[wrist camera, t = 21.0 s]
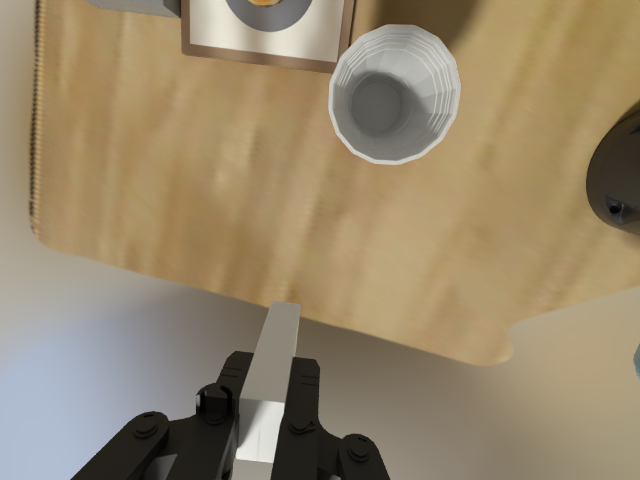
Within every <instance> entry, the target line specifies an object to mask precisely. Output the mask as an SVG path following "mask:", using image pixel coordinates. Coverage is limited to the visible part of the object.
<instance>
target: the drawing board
mask: <svg viewBox="0 0 640 480" xmlns="http://www.w3.org/2000/svg"><path fill="white" fill-rule="evenodd" d="M353 5H354V0H283V1H282V2H281V3H279V4H277V5H275V6H273V7H270V8H265V7H259V6H256V5H254V4H252V3H251V2H249V1H248V0H181V37H182V53H183V54H185V55H190V56H197V57H205V58H213V59H221V60H229V61H237V62H244V63H252V64H260V65H268V66H276V67H284V68H292V69H299V70H307V71H315V72H323V73H331V74H333V73H334V71H335V69H336V66H337V64H338V62H339V59H340V57H341V56H342V55H343V54H344V53H345V51H346V50H347V49H348V43H349V36H350V28H351V20H352V12H353Z"/></svg>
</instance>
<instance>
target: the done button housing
mask: <svg viewBox="0 0 640 480" xmlns="http://www.w3.org/2000/svg"><path fill="white" fill-rule="evenodd" d="M84 1H86V2H88V3H90V4H92V5H94V6H95V7H97V8H103V9H110V10H118V11H126V12H134V13H141V14H149V15H157V16H165V17H173V18H180V19H181V11H180V0H84Z"/></svg>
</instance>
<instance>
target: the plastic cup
mask: <svg viewBox="0 0 640 480" xmlns="http://www.w3.org/2000/svg"><path fill="white" fill-rule="evenodd" d="M460 92H461V84H460V79H459V75H458V70H457V66H456V61H455V59H454V57H453V56H452V55H451V53H450V52H449V51H448V49H447V48H446V47H445V45H444V44H443V42H442V41H441V40H440V38H439V37H437V36H435V35H433V34H431V33H429V32H427V31H425V30H424V29H422V28H420V27H418V26H416V25H397V24H387V25H384V26H382V27H380V28H377V29H375V30H373V31H370V32H368V33H366V34H363V35H361V36H360V37H359V38H358V39H357V40H356V41H355V42H354V43H353V44H352V45H351V46H350V47H349V48H348V49H347V50H346V51H345V53H344V54H343V55H342V56H341V57H340V59H339V62H338V64H337V66H336V69H335V71H334V73H333V76H332V78H331V80H330V83H329V103H328V111H329V114H330V117H331V120H332V123H333V126H334V129H335V132H336V135H337V136H338V137H339V138H340V139H341V140H342V142H343V143H344V144H345V145H346V146H347V147H348V149H349V150H350V151H351V152H352V153H353V154H355V155H357V156H359V157H361V158H363V159H365V160H367V161H369V162H371V163H373V164H390V165H399V164H402V163H405V162H408V161H411V160H414V159H417V158H420V157H422V156H423V155H425V154H426V153H427V152H428V151H429V150H431V149H432V148H433V147H434V146H435V145H437V144H438V143H439V142H440V141H441V140H443V138H444V136H445V134H446V133H447V131H448V129H449V127H450V126H451V124H452V122H453V121H454V119H455V117H456V115H457V109H458V103H459V97H460Z"/></svg>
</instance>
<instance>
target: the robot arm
mask: <svg viewBox="0 0 640 480" xmlns="http://www.w3.org/2000/svg"><path fill="white" fill-rule="evenodd" d="M586 191H587V197H588V200H589V203H590V205H591V208H592V209H593V211H594V212H595V214H596V215H597V216H598V217H599V218H600V219H601V220H602V221H603V222H605V223H606V224H608V225H610V226H612V227H615V228H618V229H620V230H623V231H626V232H629V233H633V234H638V235H640V110H639V111H637V112H635V113H634V114H632V115H630V116H629V117H627V118H626V119H624V120H623V121H622V122H620V123H619V124H618V125H617V126H616V127H614V128H613V129H612V130H611V131H610V132H609V134H608V135H607V136H606V137H605V138H604V139H603V141H602V142H601V144H600V145H599V147H598V148H597V150H596V152H595V154H594V156H593V158H592V160H591V163H590V166H589V169H588V173H587V180H586ZM300 309H301V304H297V303H289V302H280V301H272V303H271V306H270V309H269V312H268V315H267V318H266V321H265V324H264V327H263V330H262V332H261V336H260V338H259V342H258V344H257V348H256V350H255V353H249V352H240V351H235V352H234V353H232V354H231V355H230V356H229V357H228V358H227V360H226V362H225V364H224V366H223V369H222V371H221V373H220V376H219V377H218V379H217V382H216V383H212V384H209V385H206V386H205V387H203V388H202V389H200V391H199V392H198V393H197V394H196V414H195V415H193V416H191V417H188V418H185V419H179V420H173V421H169V420H168V418H167V416H166V415H164V414H163V413H161V412H155V411H152V412H146V413H143V414H140V415H138V416H136V417H135V418H133V419H132V420H131V421H129V422H128V423H127V424H126V425H125V426H124V427H123V428H122V429H121V430H120V431H119V432H118V433H117V434H116V435H115V436H114V437H113V438H112V439H111V440H110V441H109V442H108V443H107V444H106V445H105V446H104V447H103V448H102V449H101V450H100V451H99V452H98V453H97V454H96V455H95V456H94V457H93V458H92V459H91V460H90V461H89V462H88V463H87V464H86V465H85V466H84V467H83V468H82V469H81V470H80V471H79V472H78V473H77V474H76V475H75V476H74V477H73V478H72V479H71V480H231V477H232V471H233V462H234V458H235V454H236V451H237V455H236V459H243V460H253V461H261V462H270V463H273V468H272V474H271V480H390V478H389V475H388V473H387V470H386V468H385V465H384V463H383V460H382V458H381V455H380V453H379V450H378V448H377V447H376V445H375V444H374V442H373V441H371V440H370V439H369V438H368V437H366V436H363V435H361V434H350V435H346V436H345V437H344V438H343V439H341V438H338V437H336V436H334V435H332V434H330V433H328V432H327V431H326V430H325V429H324V428H323V427H322V425H321V424H320V422H319V419H318V402H319V401H318V400H319V378H320V367H319V365H318V363H317V362H316V360H315V359H307V358H298V357H295V351H296V343H297V334H298V326H299V318H300ZM633 364H634V366H635V369H636V372H637V376H638V377H639V379H640V344H639V346H638V348H637V350H636V352H635V354H634V359H633Z"/></svg>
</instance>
